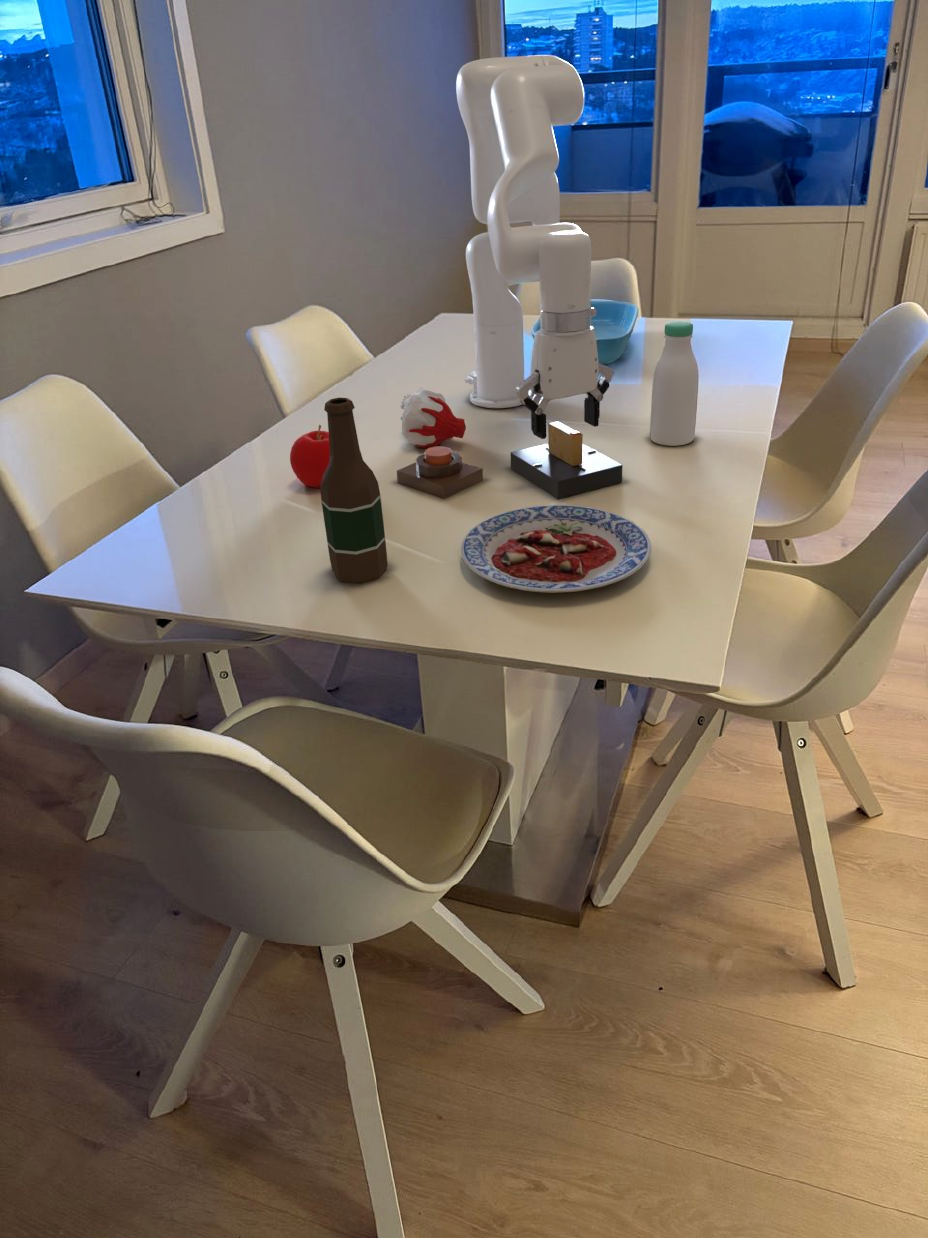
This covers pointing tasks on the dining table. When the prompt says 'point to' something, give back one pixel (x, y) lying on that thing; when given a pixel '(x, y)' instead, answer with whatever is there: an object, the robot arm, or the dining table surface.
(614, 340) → the casserole dish
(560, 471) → the plate
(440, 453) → the button
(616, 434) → the dining table surface
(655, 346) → the dining table surface
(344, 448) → the beer bottle
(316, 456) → the fruit
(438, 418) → the white and red skull
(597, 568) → the ceramic plate
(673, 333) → the milk bottle
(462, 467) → the button block
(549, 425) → the tap lever
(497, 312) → the robot arm
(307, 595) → the dining table surface
